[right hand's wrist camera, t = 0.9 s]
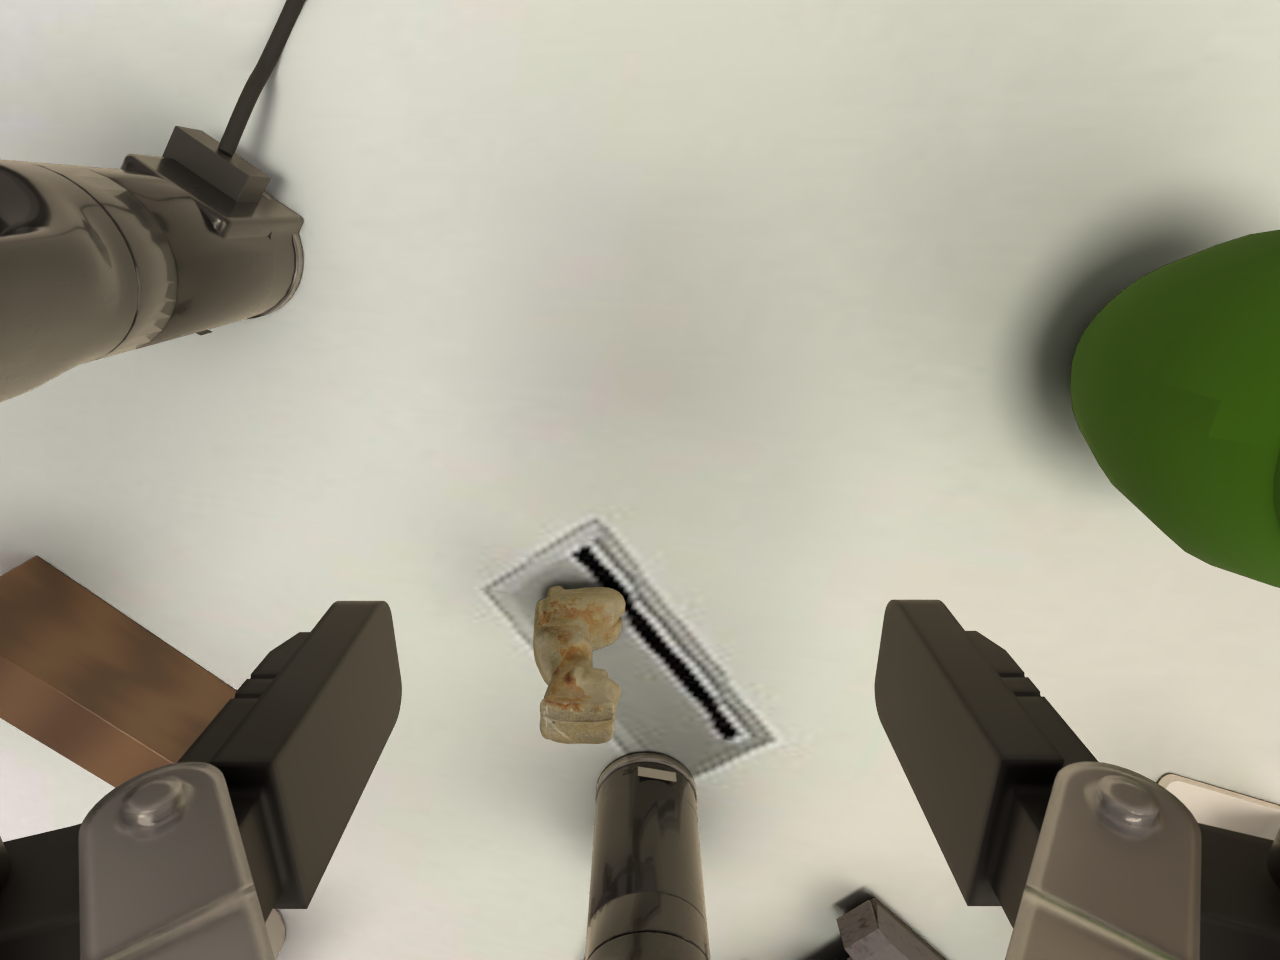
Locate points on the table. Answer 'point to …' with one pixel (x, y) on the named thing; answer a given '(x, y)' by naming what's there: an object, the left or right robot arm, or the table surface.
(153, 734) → the bar
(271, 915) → the bust sculpture
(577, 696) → the sculpture
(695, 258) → the table surface
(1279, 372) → the vase
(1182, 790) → the tablet stand
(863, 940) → the toy
